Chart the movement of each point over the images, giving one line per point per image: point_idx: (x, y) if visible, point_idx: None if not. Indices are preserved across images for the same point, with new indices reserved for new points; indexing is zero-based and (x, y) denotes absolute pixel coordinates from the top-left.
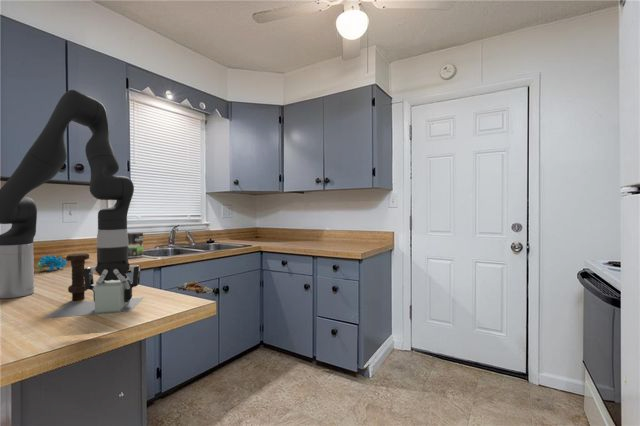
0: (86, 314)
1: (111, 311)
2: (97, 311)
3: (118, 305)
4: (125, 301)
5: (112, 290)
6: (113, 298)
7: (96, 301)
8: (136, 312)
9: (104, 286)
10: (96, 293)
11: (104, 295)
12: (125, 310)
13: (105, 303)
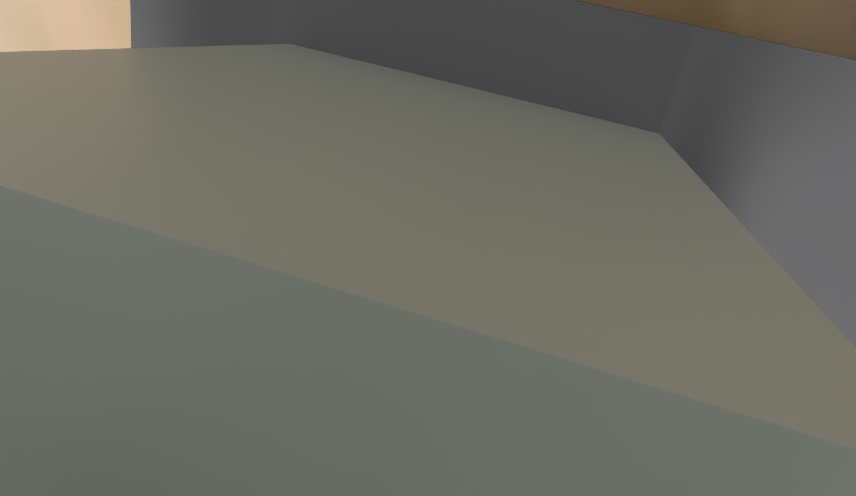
0: (801, 77)
1: (404, 63)
2: (616, 126)
3: (261, 54)
4: None
5: (118, 119)
6: (264, 83)
7: (660, 173)
8: (127, 33)
9: (314, 296)
10: (711, 242)
11: (447, 156)
12: (211, 14)
13: (467, 113)
